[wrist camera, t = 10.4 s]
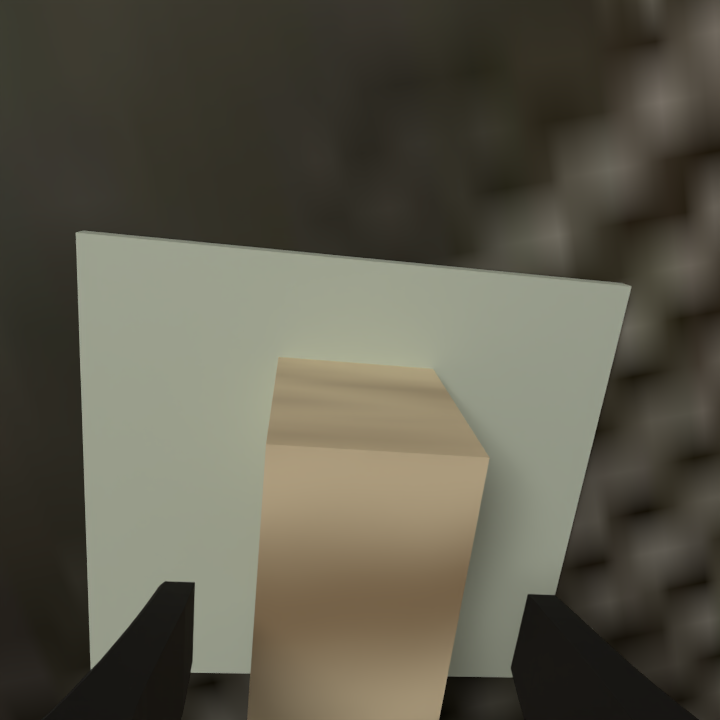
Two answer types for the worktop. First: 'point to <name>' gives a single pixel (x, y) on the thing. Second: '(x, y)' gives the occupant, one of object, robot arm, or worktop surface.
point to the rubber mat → (253, 407)
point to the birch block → (361, 542)
